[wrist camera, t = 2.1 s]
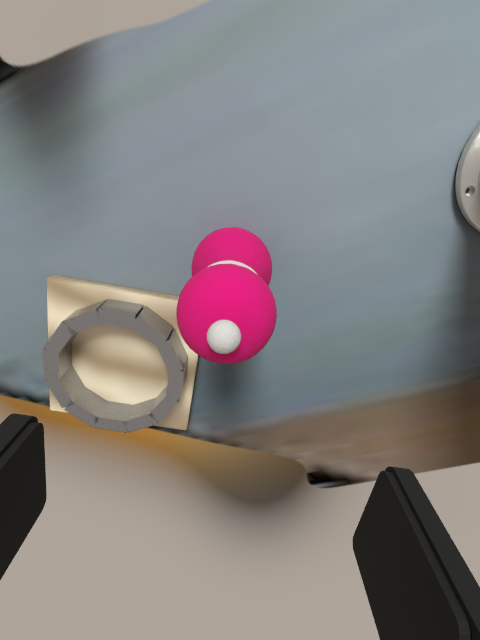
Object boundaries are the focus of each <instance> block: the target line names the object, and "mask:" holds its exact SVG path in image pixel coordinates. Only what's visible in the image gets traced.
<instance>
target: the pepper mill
mask: <svg viewBox="0 0 480 640" xmlns="http://www.w3.org/2000/svg"><path fill="white" fill-rule="evenodd" d="M271 275H272V262H271V257H270V254H269V252H268V249H267V247H266V246H265V245H264V243H263V242H262V241H261V240H260V239H259V238H258V237H257V236H256V235H254V234H253V233H251V232H249V231H247V230H244V229H241V228H223V229H220V230H217V231H215V232H213V233H211V234H209V235H208V236H206V237H205V238H204V239H203V240H202V241H201V243H200V244H199V245H198V247H197V249H196V251H195V254H194V257H193V262H192V278H191V279H190V280H189V281H188V282H187V283H186V285H185V286H184V288H183V290H182V291H181V294H180V296H179V299H178V303H177V308H176V318H177V325H178V328H179V331H180V334H181V336H182V338H183V339H184V341H185V343H186V344H187V345H188V346H189V348H190V349H191V350H193V351H194V352H195V353H196V354H198V355H199V356H201V357H203V358H204V359H207V360H209V361H212V362H216V363H221V364H232V363H238V362H242V361H244V360H247V359H249V358H251V357H252V356H254V355H256V354H257V353H258V352H259V351H260V350H261V349H263V348H264V346H265V345H266V344H267V342H268V341H269V339H270V337H271V336H272V334H273V331H274V328H275V324H276V317H277V314H276V305H275V299H274V297H273V294H272V292H271V290H270V288H269V287H268V285H269V283H270V280H271Z"/></svg>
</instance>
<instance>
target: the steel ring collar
mask: <svg viewBox="0 0 480 640" xmlns="http://www.w3.org/2000/svg"><path fill="white" fill-rule="evenodd" d="M143 307H144V305H143V304H137V303H131V302H125V301H119V300H113V299H109V300H107V299H106V300H103V301H100V302H97V303H95V304H92V305H89V306H86V307H83V308H81V309H78V310H76V311H75V312H73V313H72V314H71V315H70V316H68V317H67V318H66V319H65V320H63V321H62V322H61V323H60V325H59V326H58V328H57V329H56V330H55V332H54V333H53V335H52V336H51V337H50V339H49V340H48V342H47V343H46V345H45V346H44V349H43V361H44V379H46V381H45V382H46V384H47V386H48V387H49V389H50V390H51V392H52V393H53V395H54V396H55V398H56V399H57V401H58V402H59V404H60V406H61V407H62V408H64V407H66V408H65V409H64V410H65V411H67V412H68V413H70V414H72V415H73V416H75V417H77V418H78V419H80V420H81V421H83V422H85V423H86V424H88V425H90V426H91V427H93V426H94V425H95V426H94V428H98V429H105V430H112V431H118V432H125V433H127V431H128V432H133V431H136V430H139V429H143V428H146V427H149V426H153V425H156V424H158V423H160V422H161V421H162V420H163V419H164V418H165V417H166V416H167V415H168V413H169V412H170V411H171V410H172V409H173V408H174V407H175V406H176V405H177V404H178V403H179V401H180V398H181V395H182V391H183V388H184V384H185V377H186V370H187V363H188V355H187V353H186V350H185V348H184V346H183V344H182V342H181V340H180V338H179V335H178V333H177V331H176V329H175V328H173V325H172V324H170V323H169V322H167V321H166V320H165V319H163V318H162V317H161V316H159V315H158V314H157V313H155V312H154V311H153V310H151V309H150V308H149V307H147V306H145V307H144V309H143ZM99 324H105V325H111V326H117V327H123V328H129V329H132V330H134V331H135V332H137V333H138V334H139V335H141V336H142V337H144V338H145V339H146V340H148V341H149V342H151V343H152V344H153V345H155V346H156V347H157V349H158V351H159V353H160V355H161V357H162V359H163V361H164V363H165V365H166V367H167V369H168V371H169V375H168V383H167V386H166V387H165V388H164V389H163V390H162V392H161V393H160V394H159V395H158V396H157V397H156V398H153V399H150V400H147V401H143V402H140V403H137V404H134V405H131V404H125V403H118V402H112V401H107V400H105V399H104V398H102V397H101V396H99V395H97V394H96V393H94V392H93V391H91V390H90V389H88V388H87V387H85V386H84V384H83V382H82V381H81V379H80V377H79V376H78V374H77V372H76V371H75V369H74V367H73V366H72V341H73V339H74V338H75V336H76V335H77V334H78V332H79V331H82V330H85V329H87V328H90V327H93V326H96V325H99Z"/></svg>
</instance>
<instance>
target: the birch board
mask: <svg viewBox="0 0 480 640" xmlns="http://www.w3.org/2000/svg"><path fill="white" fill-rule="evenodd" d="M106 299H107V300H109V299H113V300H119V301H125V302H131V303H137V304H143V305H144V307H145V306H147V307H149V308H150V309H151V310H153V311H154V312H155V313H157V314H158V315H159V316H161V317H162V318H163V319H165V320H166V321H167V322H169V323H170V324H172V325H173V328H175V329H176V331H177V333H178V335H179V338H180V340H181V342H182V344H183V346H184V348H185V350H186V353H187V355H188V363H187V370H186V377H185V384H184V388H183V391H182V395H181V398H180V401H179V403H178V404H177V405H176V406H175V407H174V408H173V409H172V410H171V411H170V412H169V413H168V415H167V416H166V417H165V418H164V419H163V420H162V421H161V422H160V423H158V424H156V425H154V426H160V427H167V428H174V429H180V430H187V426H188V421H189V414H190V408H191V401H192V395H193V388H194V381H195V375H196V368H197V362H198V354H196V353H195V352H194V351H193V350H191V349H190V348H189V346H188V345H187V344H186V343H185V341H184V339H183V338H182V336H181V334H180V331H179V328H178V325H177V318H176V308H177V303H178V299H179V296H174V295H168V294H162V293H156V292H150V291H145V290H139V289H133V288H127V287H121V286H115V285H110V284H104V283H98V282H92V281H86V280H80V279H75V278H69V277H63V276H57V275H53V276H51V277H50V278H48V279H47V302H48V340H49V339H50V337H51V336H52V335H53V333H54V332H55V330H56V329H57V328H58V326H59V325H60V323H61V322H62V321H63V320H65V319H66V318H67V317H68V316H70V315H71V314H72V313H73V312H75V311H76V310H78V309H81V308H83V307H86V306H89V305H92V304H95V303H97V302H100V301H103V300H106ZM144 307H143V309H144ZM72 366H73V367H74V369H75V371H76V372H77V374H78V376H79V377H80V379H81V381H82V382H83V384H84V386H85V387H87V388H88V389H90V390H91V391H93V392H94V393H96V394H97V395H99V396H101V397H102V398H104V399H105V400H107V401H112V402H118V403H125V404H131V405H134V404H137V403H140V402H143V401H147V400H150V399H153V398H156V397H157V396H158V395H159V394H160V393H161V392H162V390H163V389H164V388H165V387H166V386H167V383H168V375H169V371H168V369H167V367H166V365H165V363H164V361H163V359H162V357H161V355H160V353H159V351H158V349H157V347H156V346H155V345H153V344H152V343H151V342H149V341H148V340H146V339H145V338H144V337H142V336H141V335H139V334H138V333H137V332H135V331H134V330H132V329H129V328H123V327H117V326H111V325H105V324H99V325H96V326H93V327H90V328H87V329H85V330H82V331H79V332H78V334H77V335H76V336H75V338H74V339H73V341H72ZM65 408H66V407H64V408H62V407H61V406H60V404H59V402H58V401H57V399H56V398H55V396H54V395H53V393H52V392H51V390H50V410H53V411H60V412H67V411H65V410H64V409H65ZM67 413H68V412H67Z"/></svg>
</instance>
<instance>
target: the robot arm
mask: <svg viewBox="0 0 480 640" xmlns="http://www.w3.org/2000/svg"><path fill="white" fill-rule="evenodd" d="M466 189H467V191H466ZM455 191H456V196H457V202H458V205H459V207H460V210H461V212H462V214H463V216H464V217H465V219H466V220H467V221H468V223H469V224H470V225H472V226H473V227H474V228H475V229H476V230H478V231H480V125H479V126H478V127H477V128H476V130H475V131H474V132H473V134H472V135H471V137H470V139H469V140H468V142H467V144H466V146H465V147H464V150H463V152H462V155H461V158H460V160H459V163H458V168H457V173H456V188H455ZM465 191H466V193H465ZM45 502H46V474H45V450H44V428H43V425H42V423H38V419H37V418H36V417H34V416H27V415H20V414H11V415H9V416H8V417H7V418H6V419H5V420H4V421H3V422H2V423H1V424H0V580H1V578H2V576H3V575H4V573H5V571H6V570H7V568H8V566H9V565H10V563H11V561H12V560H13V558H14V557H15V555H16V553H17V552H18V550H19V548H20V547H21V545H22V543H23V542H24V540H25V538H26V537H27V535H28V533H29V532H30V530H31V528H32V526H33V525H34V523H35V522H36V520H37V518H38V517H39V515H40V513H41V512H42V510H43V507H44V505H45ZM353 550H354V553H355V556H356V560H357V563H358V567H359V570H360V573H361V577H362V580H363V583H364V586H365V590H366V593H367V596H368V600H369V604H370V607H371V610H372V614H373V617H374V620H375V624H376V627H377V630H378V634H379V637H380V640H480V587H479V586H478V584H477V582H476V580H475V579H474V577H473V575H472V573H471V572H470V570H469V568H468V566H467V565H466V563H465V561H464V559H463V558H462V556H461V554H460V553H459V551H458V549H457V548H456V546H455V544H454V542H453V541H452V539H451V537H450V535H449V534H448V532H447V530H446V529H445V527H444V525H443V523H442V522H441V520H440V518H439V516H438V515H437V513H436V511H435V510H434V508H433V506H432V504H431V503H430V501H429V499H428V497H427V496H426V494H425V492H424V491H423V489H422V487H421V485H420V484H419V482H418V480H417V479H416V477H415V475H414V473H413V472H412V471H411V470H409V469H404V468H397V467H387V468H386V470H385V471H381V472H380V473H379V475H378V478H377V480H376V483H375V485H374V488H373V490H372V492H371V495H370V497H369V500H368V502H367V504H366V507H365V509H364V512H363V514H362V516H361V519H360V521H359V524H358V526H357V529H356V531H355V533H354V536H353Z"/></svg>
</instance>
